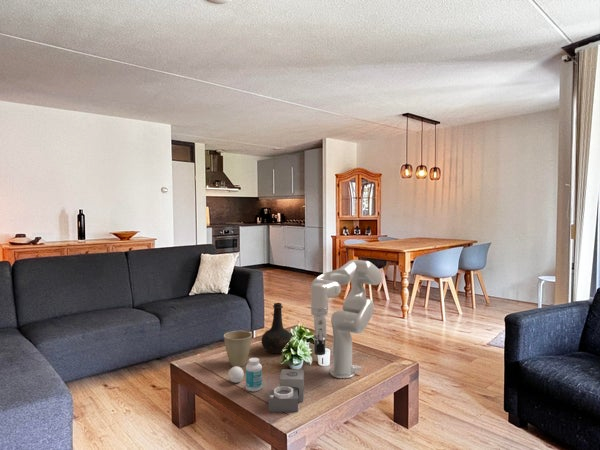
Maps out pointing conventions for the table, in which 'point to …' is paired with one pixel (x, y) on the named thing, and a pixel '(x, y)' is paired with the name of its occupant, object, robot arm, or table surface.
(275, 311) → the glass bottle
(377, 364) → the table surface
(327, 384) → the table surface
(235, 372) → the white ovoid
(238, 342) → the plant pot
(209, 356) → the table surface
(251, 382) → the pill bottle
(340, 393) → the table surface
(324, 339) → the lens
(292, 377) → the icon cube
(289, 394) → the grey ring-top block
